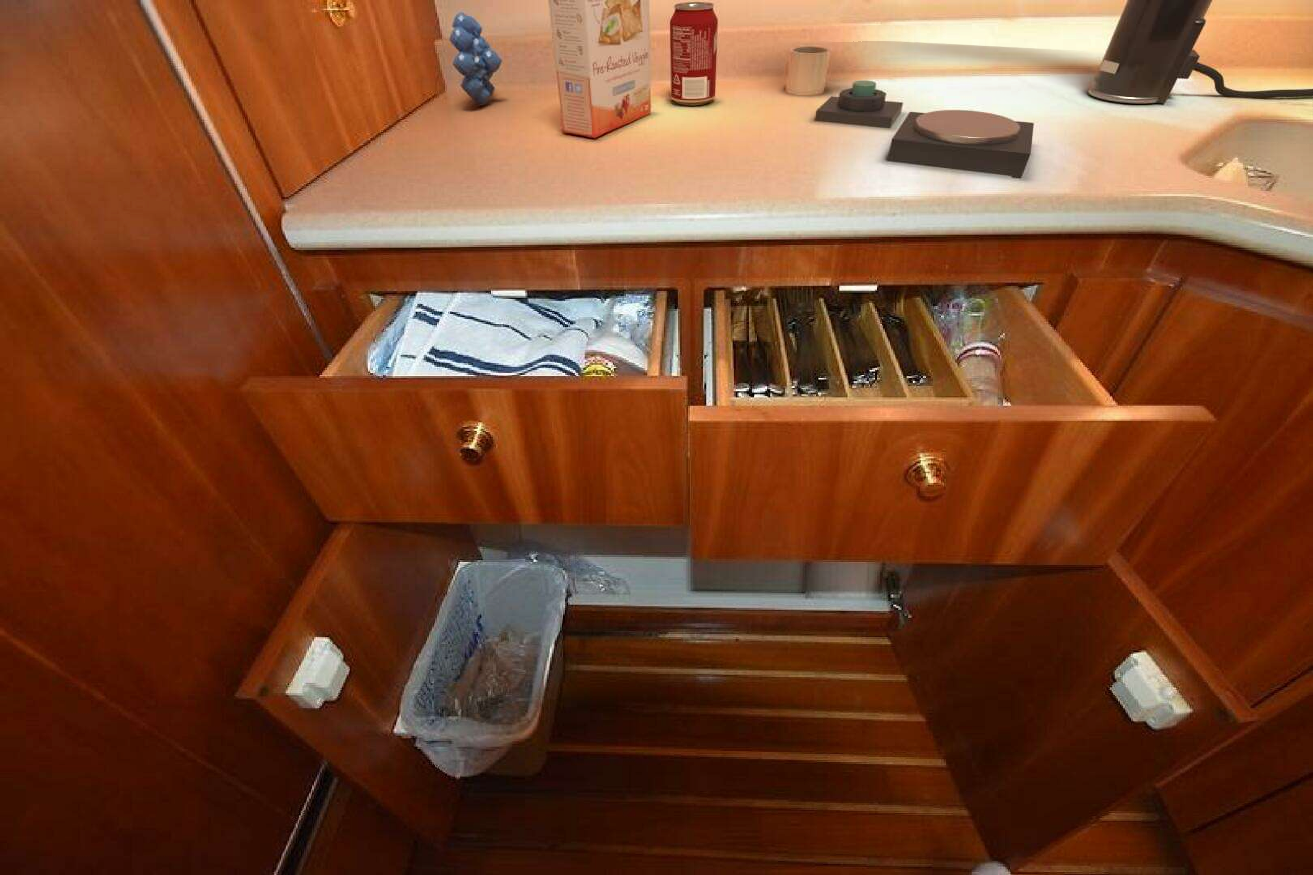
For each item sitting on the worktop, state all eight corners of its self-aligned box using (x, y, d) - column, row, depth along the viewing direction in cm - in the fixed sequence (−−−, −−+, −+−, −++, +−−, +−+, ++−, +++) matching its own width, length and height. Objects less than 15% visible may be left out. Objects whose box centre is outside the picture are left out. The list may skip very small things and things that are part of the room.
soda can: (711, 107, 86) (715, 7, 78) (666, 106, 87) (665, 8, 79) (717, 96, 91) (721, 1, 83) (675, 95, 92) (674, 1, 84)
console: (900, 113, 82) (906, 89, 80) (890, 129, 76) (895, 103, 74) (829, 107, 85) (833, 83, 83) (814, 121, 80) (818, 96, 78)
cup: (828, 88, 93) (834, 47, 89) (818, 97, 89) (824, 54, 86) (792, 85, 95) (796, 45, 92) (780, 93, 91) (785, 52, 88)
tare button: (875, 94, 79) (878, 81, 78) (871, 99, 77) (873, 86, 76) (853, 92, 80) (855, 79, 79) (848, 97, 78) (850, 84, 77)
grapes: (500, 115, 86) (481, 16, 78) (455, 116, 87) (432, 17, 79) (518, 95, 95) (503, 4, 87) (477, 96, 95) (458, 5, 87)
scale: (1025, 145, 70) (1036, 115, 68) (1021, 178, 62) (1034, 145, 60) (904, 133, 75) (911, 104, 73) (886, 161, 67) (893, 130, 65)
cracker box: (597, 140, 76) (579, -73, 62) (561, 134, 79) (535, -72, 64) (654, 114, 85) (650, -78, 71) (620, 109, 87) (609, -78, 73)
